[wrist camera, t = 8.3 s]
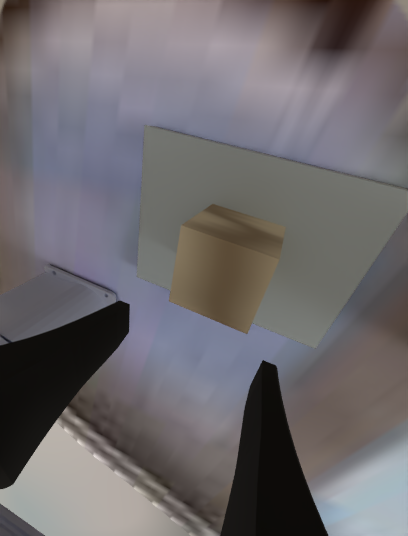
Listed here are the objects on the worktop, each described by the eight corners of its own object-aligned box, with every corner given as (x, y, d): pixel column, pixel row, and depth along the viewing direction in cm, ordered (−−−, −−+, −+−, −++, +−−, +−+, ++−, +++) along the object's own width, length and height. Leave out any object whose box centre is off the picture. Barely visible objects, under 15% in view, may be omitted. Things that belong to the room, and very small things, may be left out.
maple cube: (198, 265, 18) (168, 301, 14) (212, 203, 16) (180, 225, 12) (260, 288, 17) (247, 334, 13) (285, 226, 15) (279, 259, 11)
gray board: (144, 270, 22) (136, 276, 21) (154, 126, 16) (144, 125, 15) (314, 338, 19) (315, 348, 18) (410, 189, 13) (419, 193, 12)
